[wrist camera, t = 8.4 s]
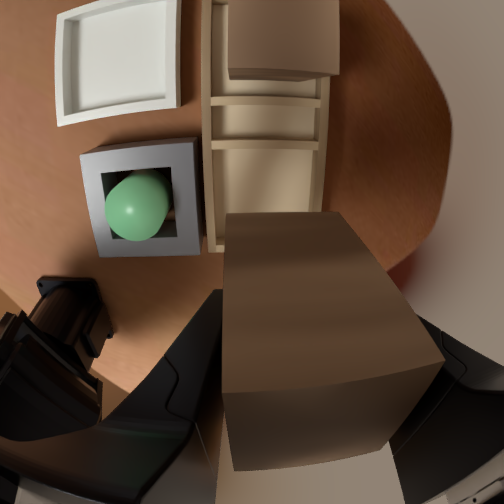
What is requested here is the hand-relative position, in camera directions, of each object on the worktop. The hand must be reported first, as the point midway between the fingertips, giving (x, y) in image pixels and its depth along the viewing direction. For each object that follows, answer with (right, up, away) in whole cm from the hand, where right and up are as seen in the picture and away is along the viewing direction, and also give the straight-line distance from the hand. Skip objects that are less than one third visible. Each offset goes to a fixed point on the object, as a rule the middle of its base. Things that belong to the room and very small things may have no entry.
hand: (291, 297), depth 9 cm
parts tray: (-10, +14, +5) cm, 17 cm away
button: (-8, +5, +9) cm, 13 cm away
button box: (-8, +5, +10) cm, 14 cm away
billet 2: (0, +1, +2) cm, 2 cm away
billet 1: (0, +13, +5) cm, 14 cm away
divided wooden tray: (-1, +10, +8) cm, 12 cm away
